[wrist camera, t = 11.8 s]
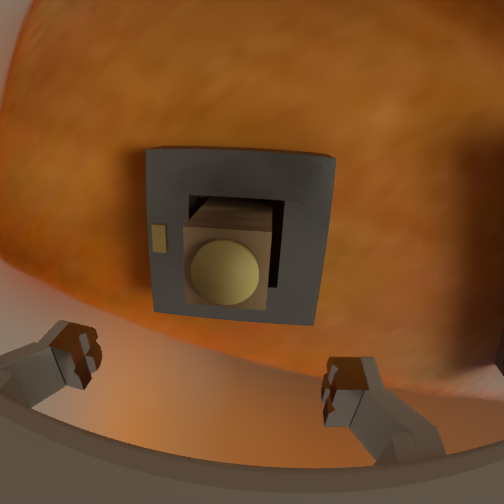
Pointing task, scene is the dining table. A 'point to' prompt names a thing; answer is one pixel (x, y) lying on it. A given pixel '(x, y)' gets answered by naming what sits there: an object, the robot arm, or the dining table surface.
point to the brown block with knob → (228, 253)
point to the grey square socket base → (243, 186)
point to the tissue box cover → (501, 356)
